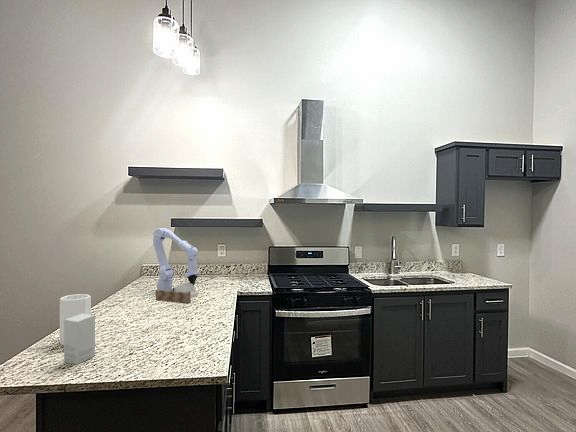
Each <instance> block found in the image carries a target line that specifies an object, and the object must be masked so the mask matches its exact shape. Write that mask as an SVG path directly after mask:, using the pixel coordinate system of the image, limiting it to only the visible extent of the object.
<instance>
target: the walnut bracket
mask: <svg viewBox="0 0 576 432" xmlns="http://www.w3.org/2000/svg"><path fill="white" fill-rule="evenodd" d="M191 298H192V297H191V293H190V291H188V292H178V291H172V290H169V291H167V290H157V289H156V290H155V301H163V302H171V303H179V304H180V303H181V304H191Z"/></svg>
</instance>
